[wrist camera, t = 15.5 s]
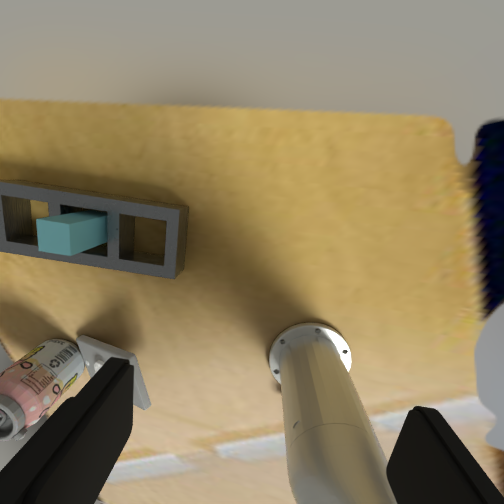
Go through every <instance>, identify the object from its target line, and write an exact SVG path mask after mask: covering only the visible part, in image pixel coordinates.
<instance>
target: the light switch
mask: <svg viewBox="0 0 504 504" xmlns="http://www.w3.org/2000/svg"><path fill="white" fill-rule="evenodd" d="M76 341H77V343H78V346H79V349H80V351H81V354H82V356H83V359H84V362H85V364H86V367H87V369H88V372H89V375H90V377H91V378H92V377H93V376H94V375H95V374H96V372H97V371H98V370H99V369H100V368H101V367H102V366H103V364H104V363H105V362H106V361H107V360H108V359H109V358H110V357H116V358H123V359H128V360H129V361H130V365H134V391H133V404H134V405H136V406H137V407H139V408H141V409H143V410H146V409H147V408H149V407H150V406H151V402H150V399H149V396H148V393H147V390H146V386H145V383H144V380H143V377H142V374H141V371H140V368H139V364H138V361H137V358H136V356H135V354H133V353H131V352H128V351H125V350H122V349H120V348H117V347H114V346H112V345H109V344H106V343H104V342H101V341H98V340H96V339H93V338H90V337H88V336H85V335H81V336H80V337H78V338H76Z"/></svg>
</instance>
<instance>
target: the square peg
mask: <svg viewBox="0 0 504 504" xmlns="http://www.w3.org/2000/svg"><path fill="white" fill-rule="evenodd" d="M36 223H37V236H38V248H39V251H42V252H48V253H55V254H61V255H67V256H72V255H75V254H77V253H80V252H83V251H85V250H88V249H90V248H93V247H96V246H98V245H101V244H103V243H106V242H108V235H107V212H102V211H95V210H87V211H81V212H75V213H69V214H63V215H57V216H51V217H45V218H39V219H36Z"/></svg>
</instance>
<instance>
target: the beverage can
mask: <svg viewBox="0 0 504 504" xmlns="http://www.w3.org/2000/svg"><path fill="white" fill-rule="evenodd" d="M84 367H85V362H84V359H83V356H82V354H81V351H80V349H79V348H78V346H76V345H75V344H73V343H72V342H70V341H67V340H62V339H52V340H47V341H45V342H43V343H42V344H40V345H39V346H37V347H36V348H35V349H33V350H32V351H31V352H29V353H28V354H26V355H25V356H24V357H22V358H21V359H20V360H18V361H17V362H15V363H14V364H13V365H11V366H10V367H9V368H7V369H6V370H4V371H3V372H2V373H0V441H7V440H10V439H11V438H14V439H15V440H16V441H17V440H19V439H22V438H23V437H24V436H25V435H26V432H27V429H25V428H27V427H29V426H31V425H33V424H35V423H36V422H37V421H38V420H39V419H40V418H41V417H42V416H43V415H44V414H45V413H46V412H47V411H48V410H49V408H50V407H51V406H52V405H53V404H54V403H55V402H56V401H57V400H58V399H59V398H60V397H61V396H62V395H63V394H64V393H65V392H66V390H67V389H68V388H69V387H70V386H71V385H72V384H73V383H74V382H75V381H76V380H77V379H78V378H79V377H80V375H81V374H82V373H83V371H84Z"/></svg>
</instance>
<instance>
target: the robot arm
mask: <svg viewBox="0 0 504 504" xmlns="http://www.w3.org/2000/svg"><path fill="white" fill-rule="evenodd" d="M317 328H318V329H317ZM269 365H270V369H271V372H272V374H273V376H274V378H275V379H276V380H277V381H278V383H280V384H281V393H282V405H283V418H284V431H285V444H286V456H287V467H288V477H289V483H290V487H291V490H292V493H293V496H294V498H295V501H296V503H297V504H504V497H503V496H502V494H501V493H500V492H499V491H498V489H497V488H496V487H495V485H494V484H493V483H492V481H491V480H490V479H489V477H488V476H487V475H486V473H485V472H484V471H483V469H482V468H481V467H480V465H479V464H478V463H477V461H476V460H475V459H474V457H473V456H472V455H471V453H470V452H469V451H468V449H467V448H466V447H465V445H464V444H463V443H462V441H461V440H460V439H459V437H458V436H457V435H456V434H455V432H454V431H453V430H452V428H451V427H450V426H449V424H448V423H447V422H446V420H445V419H444V418H443V416H442V415H441V414H440V413H439V411H438V410H436V409H434V408H427V407H421V406H415V407H414V408H413V410H410V411H409V412H408V414H407V417H406V419H405V422H404V424H403V427H402V429H401V432H400V434H399V437H398V439H397V442H396V444H395V447H394V449H393V452H392V454H391V457H390V459H389V462H388V461H387V459H386V457H385V454H384V452H383V450H382V448H381V446H380V443H379V441H378V438H377V436H376V434H375V432H374V429H373V427H372V425H371V422H370V420H369V418H368V416H367V413H366V411H365V409H364V407H363V404H362V402H361V400H360V397H359V395H358V393H357V391H356V388H355V386H354V384H353V381H352V379H351V377H350V375H349V370H350V367H351V352H350V349H349V346H348V344H347V342H346V341H345V339H344V338H343V336H342V335H341V334H340V333H338V332H337V331H336V330H334V329H333V328H331V327H329V326H326V325H324V324H319V323H301V324H297V325H294V326H291V327H289V328H287V329H286V330H284V331H283V332H282V333H280V334H279V335H278V337H277V338H276V339H275V340H274V342H273V344H272V346H271V349H270V353H269ZM133 391H134V365H130V361H129V360H128V359H123V358H116V357H110V358H109V359H108V360H107V361H106V362H105V363H104V364H103V366H102V367H101V368H100V369H99V370H98V371H97V372H96V374H95V375H94V376H93V377H92V378H91V379H90V380H89V381H88V383H87V384H86V385H85V386H84V387H83V388H82V389H81V391H80V392H79V393H78V394H77V395H76V396H75V397H70V398H68V399H67V400H66V401H64V402H63V403H62V404H61V405H60V406H59V408H58V409H57V410H56V411H55V412H54V413H53V414H52V415H51V416H50V417H49V419H48V420H47V421H46V422H45V423H44V424H43V425H42V426H41V427H40V429H39V430H38V431H37V432H36V433H35V434H34V435H33V436H32V437H31V438H30V439H29V441H28V442H27V443H26V444H25V445H24V446H23V447H22V448H21V449H20V450H19V452H18V453H17V454H16V455H15V456H14V457H13V458H12V459H11V460H10V462H9V463H8V464H7V465H6V466H5V467H4V468H3V469H2V470H1V472H0V504H94V503H95V501H96V499H97V497H98V495H99V493H100V491H101V490H102V488H103V486H104V484H105V482H106V480H107V478H108V476H109V474H110V473H111V471H112V469H113V467H114V465H115V463H116V461H117V459H118V457H119V456H120V454H121V452H122V450H123V448H124V446H125V444H126V442H127V440H128V438H129V436H130V434H131V430H132V425H133Z"/></svg>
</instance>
